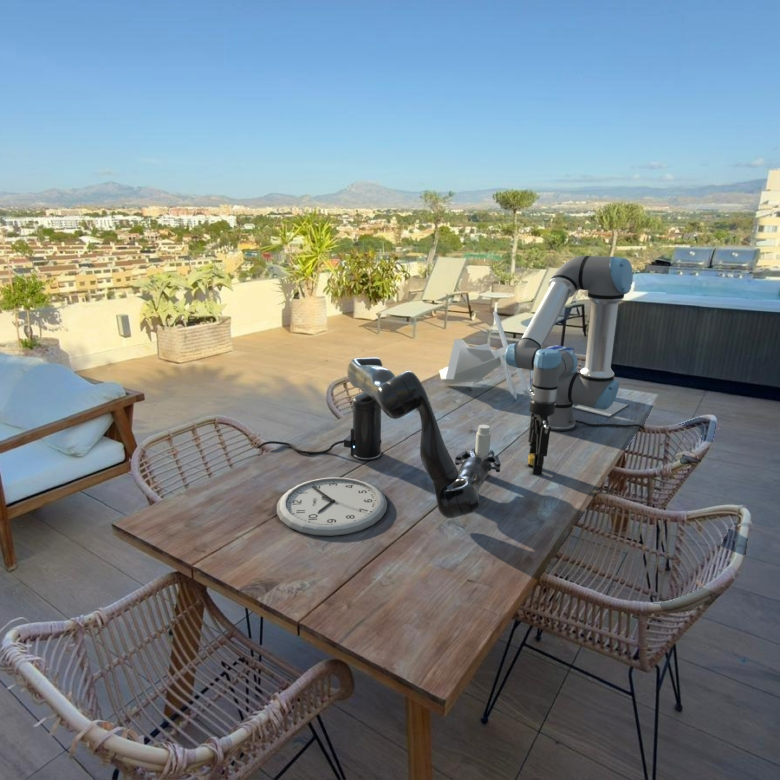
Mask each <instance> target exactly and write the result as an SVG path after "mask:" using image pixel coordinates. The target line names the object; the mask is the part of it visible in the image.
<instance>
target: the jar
mask: <svg viewBox="0 0 780 780" xmlns="http://www.w3.org/2000/svg"><path fill="white" fill-rule="evenodd" d="M490 430H491V427H490V426H489V425H488V424H479V425H478V428H477V431H476V434H475V447H474V448H475V457H479V458H483V457H484V456H485V455H486V456H488V455H489V452H490V450H491V448H490V447H491V437H492V436H491V435H492V433H491V432H490ZM488 474H489V472H488V473H487V476H486V478H487V477H488Z"/></svg>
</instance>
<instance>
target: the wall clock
mask: <svg viewBox="0 0 780 780" xmlns="http://www.w3.org/2000/svg"><path fill="white" fill-rule="evenodd" d="M387 509H388V500H387V498H386V496H385V494H384V493H383V492H382V491H381V490H380V489H379V488H377V487H376V486H374V485H372V484H371V483H369V482H365V481H362V480H359V479H355V478H349V477H338V476H337V477H335V476H333V477H332V476H331V477H322V478H317V479H312V480H307V481H305V482H302V483H299V484H297V485H295V486H293V487H292V488H290V489H288V490H287V491H286V492H285V493H284V494H283V495H281V496H280V498H279V499H278V502H277V503H276V515H277V517H278V518H279V520H280V521H281V522H282V523H283V524H285V525H286V526H287V527H288V528H290V529H293V530H295V531H297V532H299V533H303V534H308V535H312V536H327V537H328V536H329V537H331V536H332V537H333V536H342V535H350V534H352V533H356V532H361V531H363V530H366V529H368V528H369V527H372V526H373V525H375V524H376V523H378V522H379V521H380V520H381V519H382V518H383V517H384V516H385V514H386V512H387Z"/></svg>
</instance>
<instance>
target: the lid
mask: <svg viewBox="0 0 780 780" xmlns="http://www.w3.org/2000/svg"><path fill="white" fill-rule="evenodd" d="M528 463H529V464H530V465H533V464H534V453H531V454H529V453H528V456H527V464H528ZM544 463H545V459H544V460H543V465H544Z"/></svg>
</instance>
